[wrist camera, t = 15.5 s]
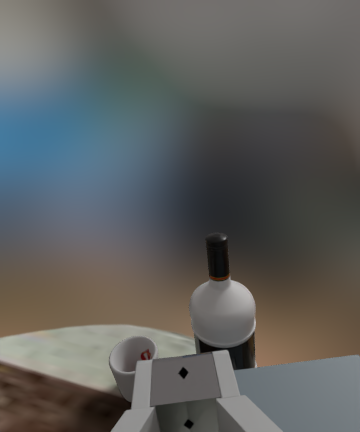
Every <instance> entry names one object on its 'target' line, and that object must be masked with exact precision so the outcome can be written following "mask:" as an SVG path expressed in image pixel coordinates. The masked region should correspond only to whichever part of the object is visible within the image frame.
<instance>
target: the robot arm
mask: <svg viewBox="0 0 360 432" xmlns="http://www.w3.org/2000/svg"><path fill="white" fill-rule="evenodd" d="M111 432H283V431H282V430H281V429H280V428H279V427H278V426H277V425H276V424H275V423H274V422H273V421H271V420H270V419H269V418H268V417H267V416H266V415H265V414H264V413H263V412H262V411H261V410H260V409H259V408H258V407H257V406H256V405H255V404H254V403H253V402H252V401H251V400H250V399H249V398H248V397H247V396H246V395H240V393H239V389H238V385H237V382H236V378H235V374H234V370H233V367H232V363H231V359H230V355H229V352H228V351H227V350H221V351H214V352H206V353H199V354H192V355H185V356H179V357H169V358H159V359H152V360H142V361H137V364H136V369H135V377H134V386H133V395H132V403H131V410H126V411H125V412H124V414H123V415H122V416H121V418H120V419H119V421H118V422H117V423H116V425H115V426H114V428H113V429H112V430H111Z"/></svg>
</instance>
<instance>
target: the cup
mask: <svg viewBox="0 0 360 432" xmlns="http://www.w3.org/2000/svg"><path fill="white" fill-rule="evenodd" d="M152 359H158V349H157V345H156V344H155V342H154V341H153V340H152V339H150V338H148V337H145V336H132V337H129V338H126V339H124V340H122V341H121V342H120V343H118V344H117V345H116V346H115V347H114V348H113V350H112V352H111V354H110V357H109V365H110V368H111V371H112V373H113V375H114V378H115V380H116V383H117V385H118V387H119V390H120V392H121V394H122V396H123V397H124V398H125V399H126V400H127V401H129V402H131V403H132V395H133V386H134V377H135V369H136V364H137V361H142V360H152Z"/></svg>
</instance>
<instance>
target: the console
mask: <svg viewBox="0 0 360 432" xmlns="http://www.w3.org/2000/svg"><path fill="white" fill-rule="evenodd" d="M234 374H235V378H236V382H237V385H238V389H239V393H240V395H246V396H247V397H248V398H249V399H250V400H251V401H252V402H253V403H254V404H255V405H256V406H257V407H258V408H259V409H260V410H261V411H262V412H263V413H264V414H265V415H266V416H267V417H268V418H269V419H270V420H271V421H273V422H274V423H275V424H276V425H277V426H278V427H279V428H280V429H281V430H282V431H283V432H360V356H359V355H352V356H344V357H336V358H328V359H320V360H312V361H304V362H297V363H289V364H281V365H273V366H265V367H257V368H249V369H241V370H234Z"/></svg>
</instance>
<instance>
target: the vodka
mask: <svg viewBox="0 0 360 432" xmlns="http://www.w3.org/2000/svg"><path fill="white" fill-rule="evenodd" d="M205 240H206V248H207V258H208V270H209V281H208V282H205V283H203V284H202V285H200V286H199V287H198V288H197V289H196V290H195V291H194V293H193V294H192V296H191V299H190V304H189V311H190V316H191V319H192V320H191V325H192V329H193V332H194V338H195V347H196V354H199V353H206V352H214V351H221V350H227V351H228V352H229V355H230V359H231V363H232V367H233V370H241V369H249V368H257V364H256V362H255V336H254V330H255V326H256V321H255V302H254V299H253V297H252V294H251V293H250V291H249V290H248V289H247V288H246V287H245V286H243V285H242V284H240V283H238V282H235V281H232V280H230V270H229V255H228V237H227V236H226V235H225V234H223V233H212V234H209V235H208V236H206V239H205Z"/></svg>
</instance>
